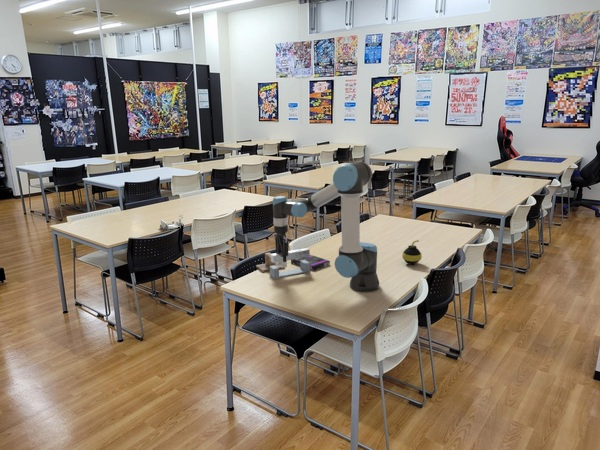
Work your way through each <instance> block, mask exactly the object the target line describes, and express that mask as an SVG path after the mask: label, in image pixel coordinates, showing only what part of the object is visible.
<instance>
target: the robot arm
mask: <svg viewBox="0 0 600 450" xmlns="http://www.w3.org/2000/svg"><path fill="white" fill-rule="evenodd" d="M372 178H373V170H372V167H370V165H369V164H368V163H366V162H363V161H356V162H351V163H344V164H342V165H340V166H338V167H337V168H336V169H335V170H334V172H333V175H332V183H330V184H328V185H327V186H326V187H324V188H322V189H320V190H319V191H317V192H315V193H313V194H312V195H310V196H309V197H307V198H304V199H300V200H296V201H290V200H289V201H288V199H287V196H284V195H278V196H274V197H273V198H272V210H273V212H272V213H273V214H272V215H273V217H272V218H273V231H274V233H275V234H274V241H275V242H274V243H275V244H274V245H275V253H280V252H282V256H281V260H282V262H278V265H282V268H284V267H285V268H288V265H287V264H288V263H287V258H286V256H288V251H289V238H287V236H286V235H287V234H286V233H288V231H289V227H288V226H289V225H288V221H289V218H288V217H289V216H290V217H295V218H303V217H305V215H306V214H308V213H311V212H315V211H317V210H319V208H320V207H322V206H324V205H326V204H328V203H330V202H331V201H333V200H334V199H337V198H338V197H340V207H341V209H340V210H341V213H340V214H341V215H340V216H341V217H340V218H341V219H340V220H341V221H340V222H341V245H340V246H339V247H338V255H337V257H336V258H335V260H334V267H335V270H336V272H337V273H338V274H339V275H340V276H341V277H343V278H346V279H348V278H349V279H350V280H349V287H350V289H352V290H354V291H356V292H362V293H370V292H372V293H373V292H375V291H377V290H379V289H380V280H379V277H378V274H377V263H378V260H377V259H378V247H377V245H376V244H374V243H371V242H365V241H364V242H363V241H362V242H361V240H360V239H361V238H360V237H361V235H360V234H361V232H360V231H361V229H360V228H361V227H360V226H361V225H360V224H361V223H360V222H361V220H360V219H361V218H360V217H361V216H360V213H361V212H360V208H361V207H360V206H361V205H360V198H361V196H362V194H363V193H364V189H363V188H364V186H366V185H367V184H369V182H371V180H372ZM285 268H284V269H285Z"/></svg>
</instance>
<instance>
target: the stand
mask: <svg viewBox="0 0 600 450" xmlns="http://www.w3.org/2000/svg"><path fill="white" fill-rule="evenodd" d="M271 254H272V253H271V252H265V253H264V259H265V263H261V264H256V265H255V268H257V270H258V271H260V272H261V273H267V272H270V266H273V265H275V266H276V267H278V268H279V270H284V269H286V267H284V268H282V265H278V262H277V263H273V262H271Z"/></svg>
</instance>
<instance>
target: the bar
mask: <svg viewBox="0 0 600 450" xmlns="http://www.w3.org/2000/svg"><path fill="white" fill-rule="evenodd" d="M310 252H311V251H310V249H309V248H307V247H304V248H298V249H292V250H288V256H286V258H287V261H291V260H293V259H298V258H304V257H309V256H310V255H311V254H310ZM281 256H282V252H280V253H277V252H275V253H271V262H273V263H277V262H282V260H281Z"/></svg>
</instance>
